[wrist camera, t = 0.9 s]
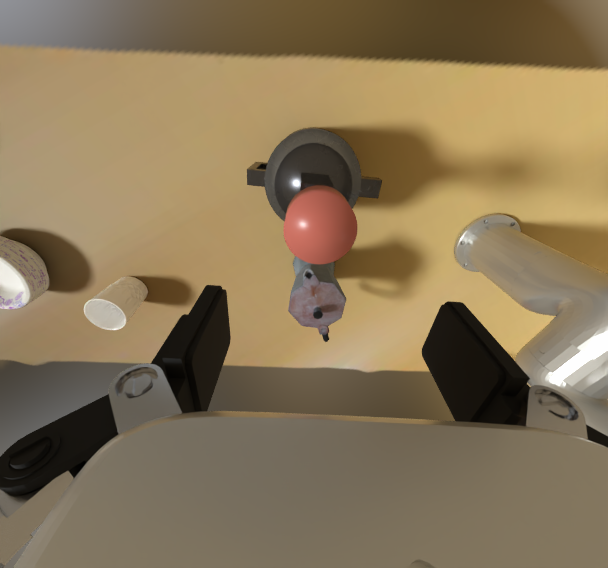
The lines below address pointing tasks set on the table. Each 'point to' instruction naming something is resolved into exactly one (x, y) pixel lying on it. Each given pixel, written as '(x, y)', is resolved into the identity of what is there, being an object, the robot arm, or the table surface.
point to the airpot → (311, 169)
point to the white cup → (116, 303)
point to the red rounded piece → (319, 225)
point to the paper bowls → (20, 274)
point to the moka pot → (316, 296)
